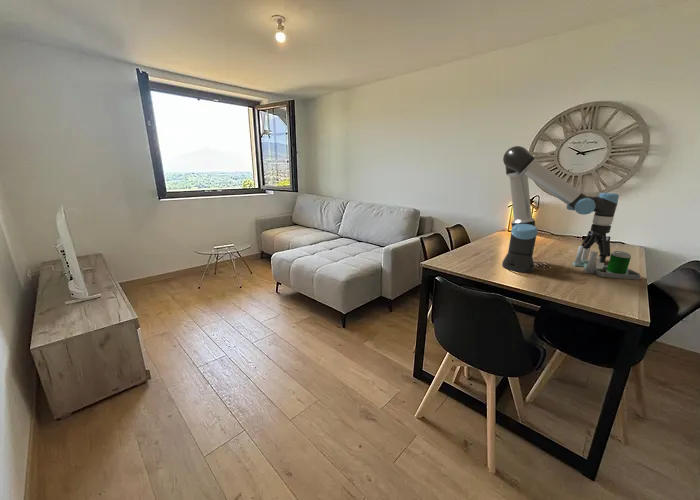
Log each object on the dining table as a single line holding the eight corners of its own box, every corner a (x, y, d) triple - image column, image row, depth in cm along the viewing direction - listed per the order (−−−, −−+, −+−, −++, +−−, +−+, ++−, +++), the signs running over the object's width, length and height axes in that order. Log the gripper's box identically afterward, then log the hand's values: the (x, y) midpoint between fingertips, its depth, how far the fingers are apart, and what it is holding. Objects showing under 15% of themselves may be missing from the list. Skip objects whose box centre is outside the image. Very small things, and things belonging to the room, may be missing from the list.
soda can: (628, 277, 146) (635, 255, 142) (611, 276, 147) (618, 254, 144) (618, 272, 153) (625, 251, 149) (602, 271, 154) (608, 250, 151)
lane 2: (591, 276, 147) (596, 255, 144) (578, 268, 158) (583, 248, 155) (639, 279, 143) (646, 258, 140) (623, 271, 154) (629, 251, 151)
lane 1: (577, 267, 159) (582, 248, 156) (569, 262, 168) (573, 244, 165) (621, 270, 155) (627, 250, 152) (610, 265, 164) (616, 246, 161)
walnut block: (599, 268, 159) (601, 261, 158) (593, 266, 163) (595, 258, 162) (607, 268, 159) (610, 261, 158) (601, 266, 163) (603, 258, 162)
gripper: (627, 229, 133) (615, 272, 138) (595, 220, 156) (586, 257, 162) (608, 228, 134) (597, 271, 140) (579, 219, 157) (570, 256, 163)
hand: (591, 264), depth 151 cm, fingers open, 13 cm apart
